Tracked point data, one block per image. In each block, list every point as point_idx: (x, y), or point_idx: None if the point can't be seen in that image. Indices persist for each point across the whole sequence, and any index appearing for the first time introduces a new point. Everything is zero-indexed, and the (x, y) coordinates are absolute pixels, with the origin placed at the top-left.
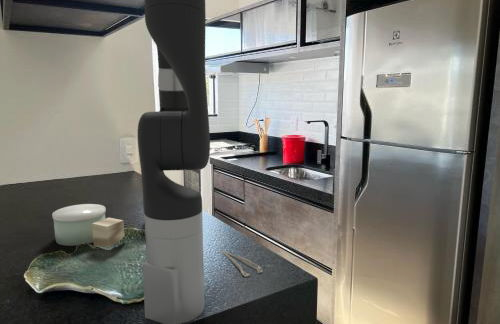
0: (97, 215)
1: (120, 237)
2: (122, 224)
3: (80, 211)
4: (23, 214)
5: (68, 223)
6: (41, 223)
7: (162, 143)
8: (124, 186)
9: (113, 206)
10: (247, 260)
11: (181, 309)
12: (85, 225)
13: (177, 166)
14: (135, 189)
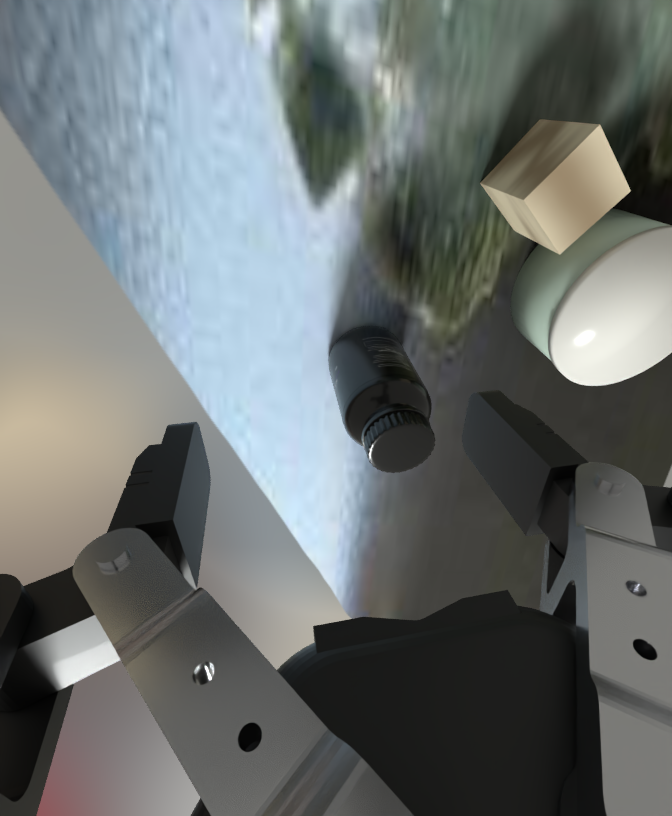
0: (597, 263)
1: (508, 171)
2: (520, 192)
3: (635, 309)
4: (642, 457)
5: None
6: (630, 398)
7: None
8: (413, 597)
9: (456, 487)
10: None
11: None
12: (624, 230)
13: None
14: (391, 582)
